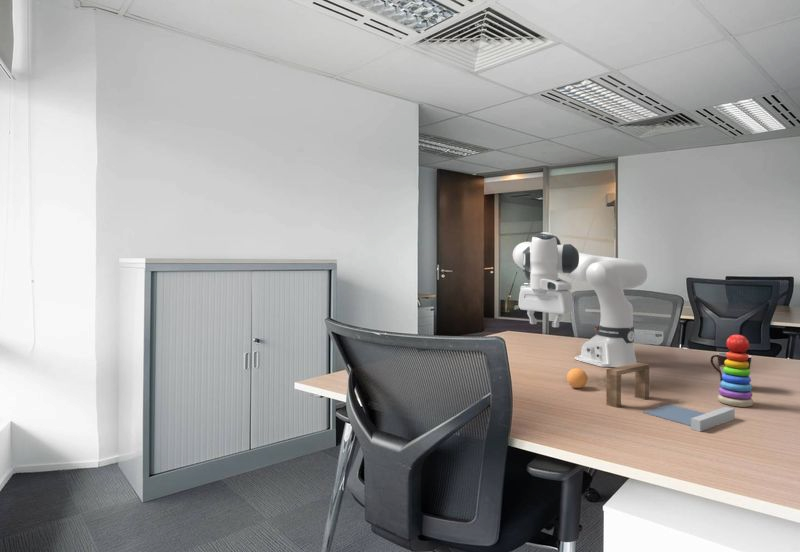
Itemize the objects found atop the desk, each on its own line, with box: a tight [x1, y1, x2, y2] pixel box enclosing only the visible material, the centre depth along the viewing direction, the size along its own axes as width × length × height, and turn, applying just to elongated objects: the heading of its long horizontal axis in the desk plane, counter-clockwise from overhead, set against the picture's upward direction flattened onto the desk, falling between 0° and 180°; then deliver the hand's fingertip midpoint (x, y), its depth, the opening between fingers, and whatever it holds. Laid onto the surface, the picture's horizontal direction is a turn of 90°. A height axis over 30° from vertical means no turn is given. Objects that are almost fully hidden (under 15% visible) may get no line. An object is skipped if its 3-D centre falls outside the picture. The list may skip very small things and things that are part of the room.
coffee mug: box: [710, 351, 752, 382], centre depth 148 cm, size 12×9×10 cm
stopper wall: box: [690, 406, 736, 432], centre depth 115 cm, size 2×16×2 cm, turn 121°
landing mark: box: [642, 403, 706, 427], centre depth 122 cm, size 12×12×1 cm
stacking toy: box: [717, 334, 754, 408], centre depth 131 cm, size 8×8×19 cm
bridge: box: [605, 362, 650, 408], centre depth 134 cm, size 3×15×10 cm, turn 122°
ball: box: [566, 367, 589, 389], centre depth 148 cm, size 6×6×6 cm
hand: (544, 325), depth 159 cm, fingers open, 8 cm apart
